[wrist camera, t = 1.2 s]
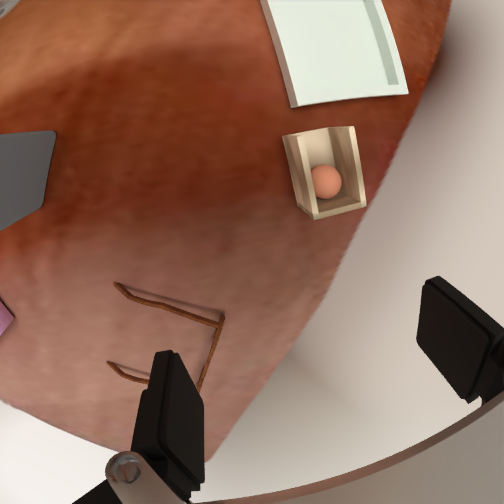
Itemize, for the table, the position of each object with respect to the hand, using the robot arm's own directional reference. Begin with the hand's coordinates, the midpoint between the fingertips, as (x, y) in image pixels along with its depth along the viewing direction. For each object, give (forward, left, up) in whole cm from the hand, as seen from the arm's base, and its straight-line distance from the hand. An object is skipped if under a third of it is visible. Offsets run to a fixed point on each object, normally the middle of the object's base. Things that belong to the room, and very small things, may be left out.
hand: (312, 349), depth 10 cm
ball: (-2, +7, -20) cm, 21 cm away
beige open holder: (-3, +7, -20) cm, 22 cm away
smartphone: (-11, -19, -20) cm, 30 cm away
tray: (-18, +12, -20) cm, 29 cm away
